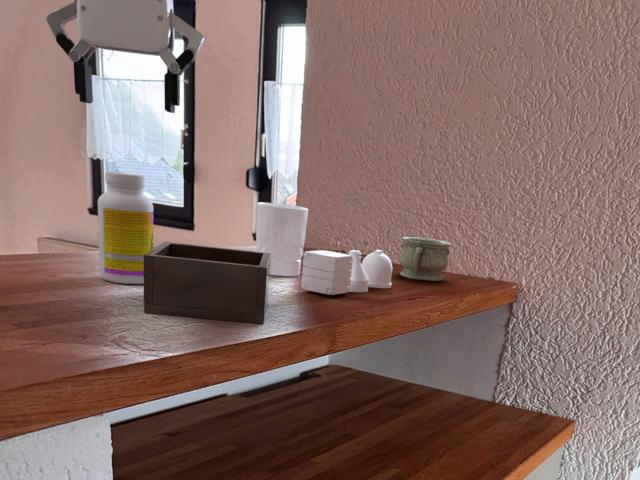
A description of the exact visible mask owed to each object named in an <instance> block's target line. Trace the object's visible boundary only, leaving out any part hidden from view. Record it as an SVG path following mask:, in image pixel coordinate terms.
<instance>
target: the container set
mask: <svg viewBox="0 0 640 480" xmlns="http://www.w3.org/2000/svg"><path fill="white" fill-rule="evenodd" d="M361 256H362V253H361V251H360V250H356V249H351V250H349V252H348V254H347V253H341V252H336V251H331V250H330V251H329V250H324V249H323V250H321V249H319V250H307V251H305V252H303V255H302V268H301V269H302V270H301V284H300V286H301V288H302V289H303V290H304V291H305V290H306V291H311V292H314V293H319V294H324V295H328V296H329V295H330V296H334V295H335V296H336V295H341V294H345V293H349V292H350V293H368V291H369V289H368V288H374V289H390V288H392V284H393V283H392V274H393V264H392V261H391V259H390V258H389V256H388V255H386V254H384V253H383V251H382V249H375V250H374V252H371V253H369V254H367V255H366V256H365V257H364V258H363V260H362V257H361ZM361 260H362V262H361Z"/></svg>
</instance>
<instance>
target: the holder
mask: <svg viewBox="0 0 640 480" xmlns="http://www.w3.org/2000/svg"><path fill="white" fill-rule="evenodd" d="M270 264H271V253H265V252H256V251H254V250H245V249H238V248H237V249H236V248H227V247H226V248H225V247H216V246H207V245H199V244H191V243H190V244H189V243H179V242H171V241H170V242H169V241H163V242H162V243H160V244H159V245H157V246H155V247H153V249H152V250H151V251H149V252H148V253H146V254H145V255H144V284H143V313H145V314H153V315H163V316H164V315H166V316H174V317H185V318H186V317H187V318H195V319H196V318H197V319H205V320H206V319H207V320H217V321H226V322H227V321H228V322H238V323H249V324H257V325H259V324H260V325H264V324H265V319H266V315H267V309H268V305H269V296H270V295H269V294H270V280H271V275H270Z"/></svg>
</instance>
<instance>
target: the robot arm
mask: <svg viewBox="0 0 640 480" xmlns="http://www.w3.org/2000/svg"><path fill="white" fill-rule="evenodd" d="M45 20H46V23H47V24H48V26H49V28H50V31H51V32H52V34H53V36H54V38H55V41H56V44H57V45H58V46H59V47H60V48H61V49H62V51H64V52H65V54H66V55H67V56H68V57H69V59H70V61H72V62H73V80H74V81H73V82H74V92H75V94H76V95H79V102H80V103H85V104H92V103H93V102H94V95H93V73H92V70H93V69H92V67H91V65H90V64H89V59H90V58H91V56H92V55H93V54H94V53H95V51H96V50H97V49H101V50H107V51H115V52H122V53H130V54H137V55H145V56H146V55H147V56H153V57H154V56H156V57H160V59H161V60H162V62H163V63H164V64H165V66H166V72H165V73H164V76H163V77H164V78H163V79H164V80H163V81H164V82H163V83H164V86H163V87H164V111H165V112H166V113H171V114H175V113H176V107H180V104H181V76H183V74H184V72H185V71H186V70H187V69H188V68H189V67H190V66H191V65H192V64H193V63H194V62H195V61H196V58H197V55H198V54H199V52H200V50H201V48H202V47H203V44H204V42H205V37H204V35H203V34H202V33H201V32H199V31H198V30H197V29H196V28H194V27H193V26H192V25H190V24H189V23H187V22H186V21H184V20H183V19H182V18H180V17H179V16H178V15H176V14H175V13H174V0H75V1H73V2H70V3H68V4H66V5H64V6H62V7H59V8H58V9H56V10H53V11H52V12H49V13H47V14H46V16H45ZM74 20H76V21H77V23H76V24H77V31H78V35H79V37H80V38H79V40H77V42H76V43H74V41H73V40H72V39H71V38H70V37H69V35H68V33H67V30H66V28H65V26H66V24H67V23H69V22H72V21H74ZM175 30H176V32H179V33H180V34H181V35H183V36H184V37H185V38H186V39H187V41H188V42H187V45H186V47H185V50H183V51H182V52H181V53H180V54H179V55H178V57H176V56H175V55H174V53H173V52H174V49H175Z"/></svg>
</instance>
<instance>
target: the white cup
mask: <svg viewBox="0 0 640 480" xmlns="http://www.w3.org/2000/svg"><path fill="white" fill-rule="evenodd" d="M255 204H256V205H255V206H256V208H255V209H256V210H255V211H256V212H255V217H256V218H255V226H256V227H255V243H256V244H255V249H256V251H255V252H265V253H271V264H270V276H275V277H298V276H299V275H301V269H302V268H301V267H302V259H303V256H304V247H305V242H306V233H307V225H308V217H309V208H308V207H304V206H299V205H293V204H285V203H276V202H264V201H263V202H256V203H255Z"/></svg>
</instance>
